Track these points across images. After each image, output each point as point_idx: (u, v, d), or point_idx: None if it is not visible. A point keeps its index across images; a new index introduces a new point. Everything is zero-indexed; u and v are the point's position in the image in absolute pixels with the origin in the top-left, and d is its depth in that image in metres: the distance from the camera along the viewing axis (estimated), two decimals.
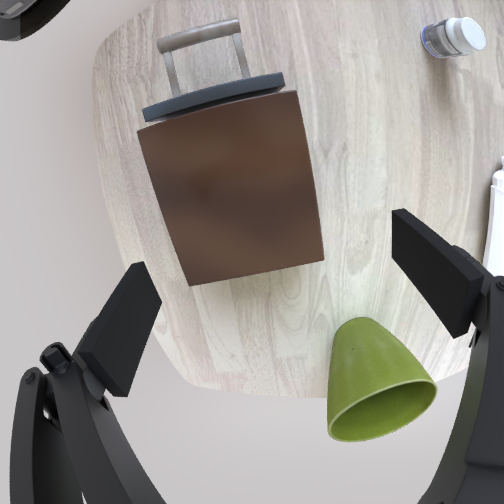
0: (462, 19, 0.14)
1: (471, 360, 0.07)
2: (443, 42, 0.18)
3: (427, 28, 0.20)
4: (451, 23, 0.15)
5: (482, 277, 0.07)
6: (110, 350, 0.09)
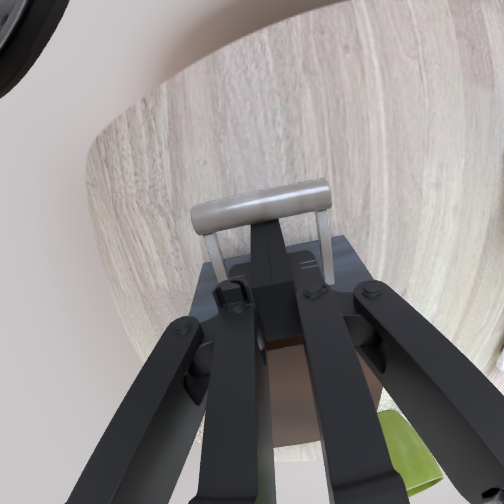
0: None
1: None
2: None
3: None
4: None
5: (291, 281, 0.10)
6: None
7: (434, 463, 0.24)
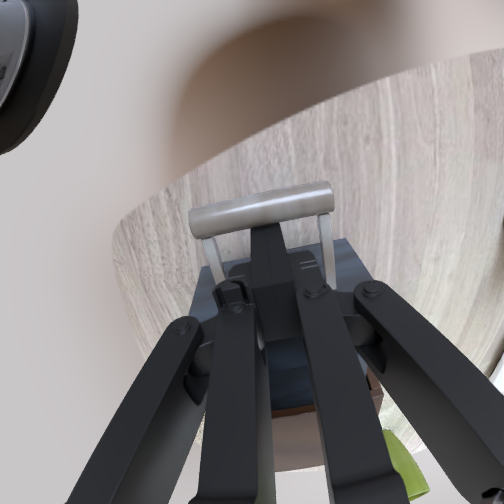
0: None
1: None
2: None
3: None
4: None
5: (291, 281, 0.10)
6: None
7: (421, 478, 0.27)
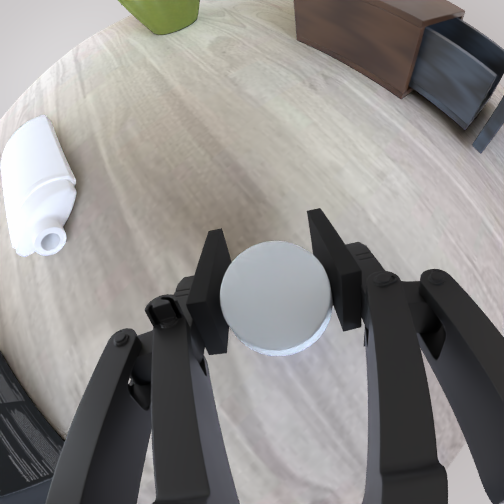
0: (329, 301, 0.09)
1: (367, 361, 0.08)
2: None
3: None
4: None
5: (359, 272, 0.09)
6: (215, 304, 0.11)
7: None
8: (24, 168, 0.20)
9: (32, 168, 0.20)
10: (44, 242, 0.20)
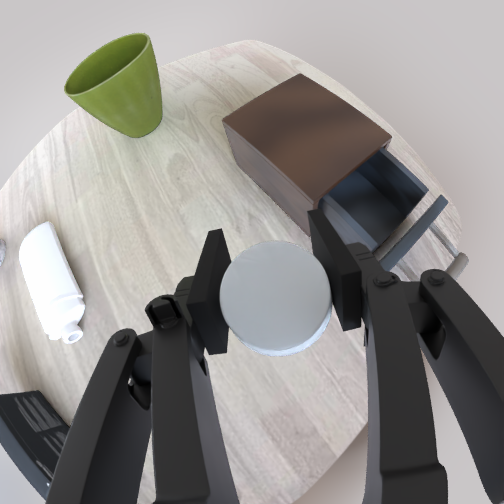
0: (329, 301, 0.09)
1: (367, 361, 0.08)
2: None
3: None
4: None
5: (359, 272, 0.09)
6: (215, 304, 0.11)
7: (90, 104, 0.30)
8: (44, 280, 0.33)
9: (50, 282, 0.33)
10: None
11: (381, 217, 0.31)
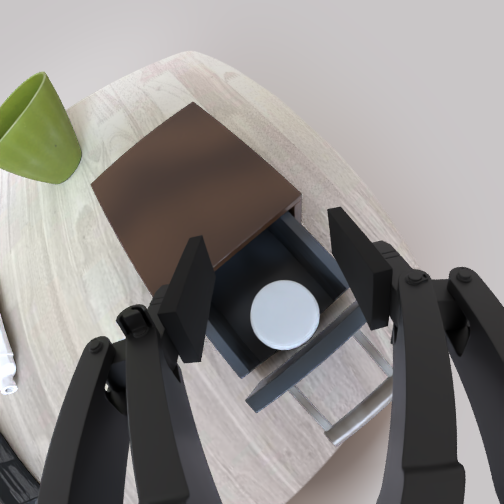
0: (316, 317, 0.16)
1: (394, 358, 0.08)
2: None
3: None
4: None
5: (390, 270, 0.09)
6: (188, 313, 0.11)
7: None
8: None
9: None
10: None
11: None
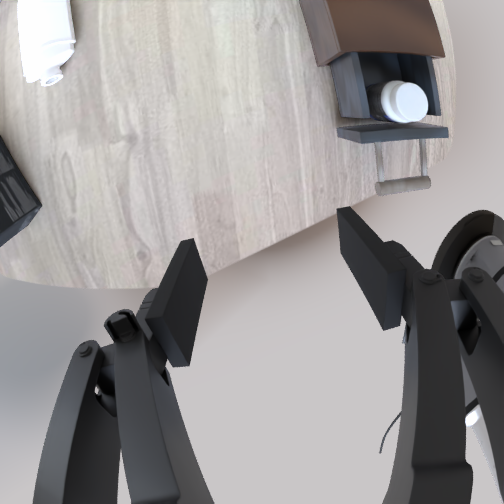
0: (424, 116, 0.21)
1: (406, 357, 0.08)
2: None
3: None
4: None
5: (404, 270, 0.09)
6: (176, 318, 0.10)
7: None
8: (39, 25, 0.18)
9: (45, 27, 0.19)
10: None
11: None
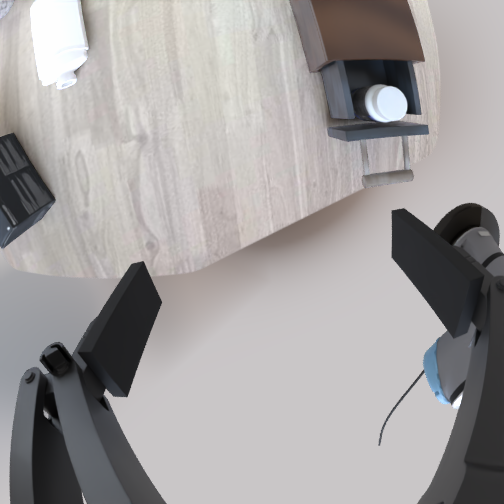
0: (403, 115, 0.25)
1: (471, 360, 0.07)
2: None
3: None
4: None
5: (482, 277, 0.07)
6: (110, 350, 0.09)
7: None
8: (53, 32, 0.22)
9: (60, 34, 0.23)
10: None
11: None
